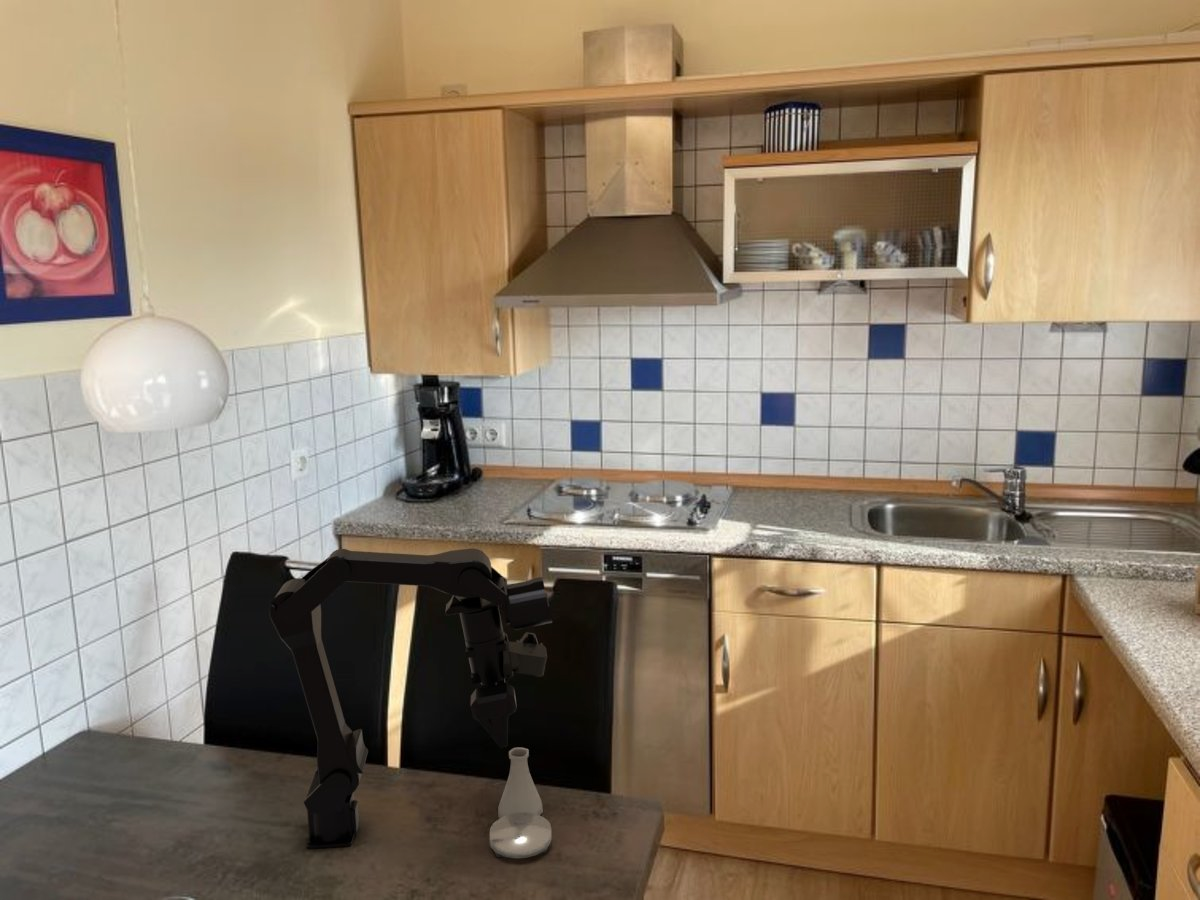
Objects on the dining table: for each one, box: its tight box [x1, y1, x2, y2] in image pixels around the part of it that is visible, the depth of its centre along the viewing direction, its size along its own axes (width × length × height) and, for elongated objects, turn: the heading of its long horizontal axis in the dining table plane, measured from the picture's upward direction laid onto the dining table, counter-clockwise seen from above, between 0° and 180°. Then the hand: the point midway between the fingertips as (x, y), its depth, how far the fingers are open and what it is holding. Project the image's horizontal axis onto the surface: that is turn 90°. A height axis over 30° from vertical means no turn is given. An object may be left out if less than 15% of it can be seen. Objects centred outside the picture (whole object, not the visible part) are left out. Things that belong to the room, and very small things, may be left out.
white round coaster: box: [489, 813, 553, 859], centre depth 134 cm, size 9×9×2 cm
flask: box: [497, 747, 544, 819], centre depth 142 cm, size 7×7×10 cm
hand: (503, 731), depth 138 cm, fingers open, 9 cm apart
